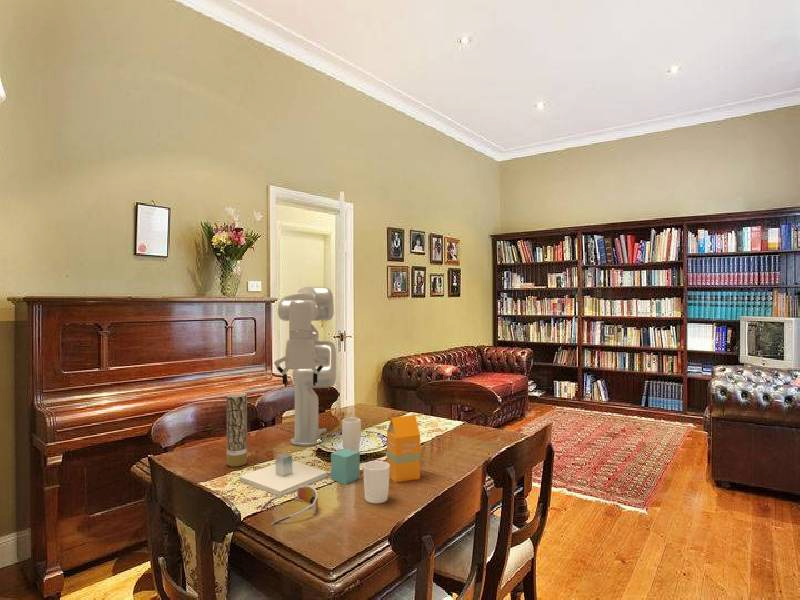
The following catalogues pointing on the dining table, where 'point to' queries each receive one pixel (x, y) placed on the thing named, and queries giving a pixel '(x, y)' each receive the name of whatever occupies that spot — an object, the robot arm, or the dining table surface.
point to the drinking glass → (351, 433)
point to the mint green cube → (345, 465)
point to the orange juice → (403, 449)
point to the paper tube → (236, 429)
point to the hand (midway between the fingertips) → (300, 385)
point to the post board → (283, 478)
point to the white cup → (376, 481)
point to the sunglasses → (302, 494)
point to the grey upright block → (283, 465)
